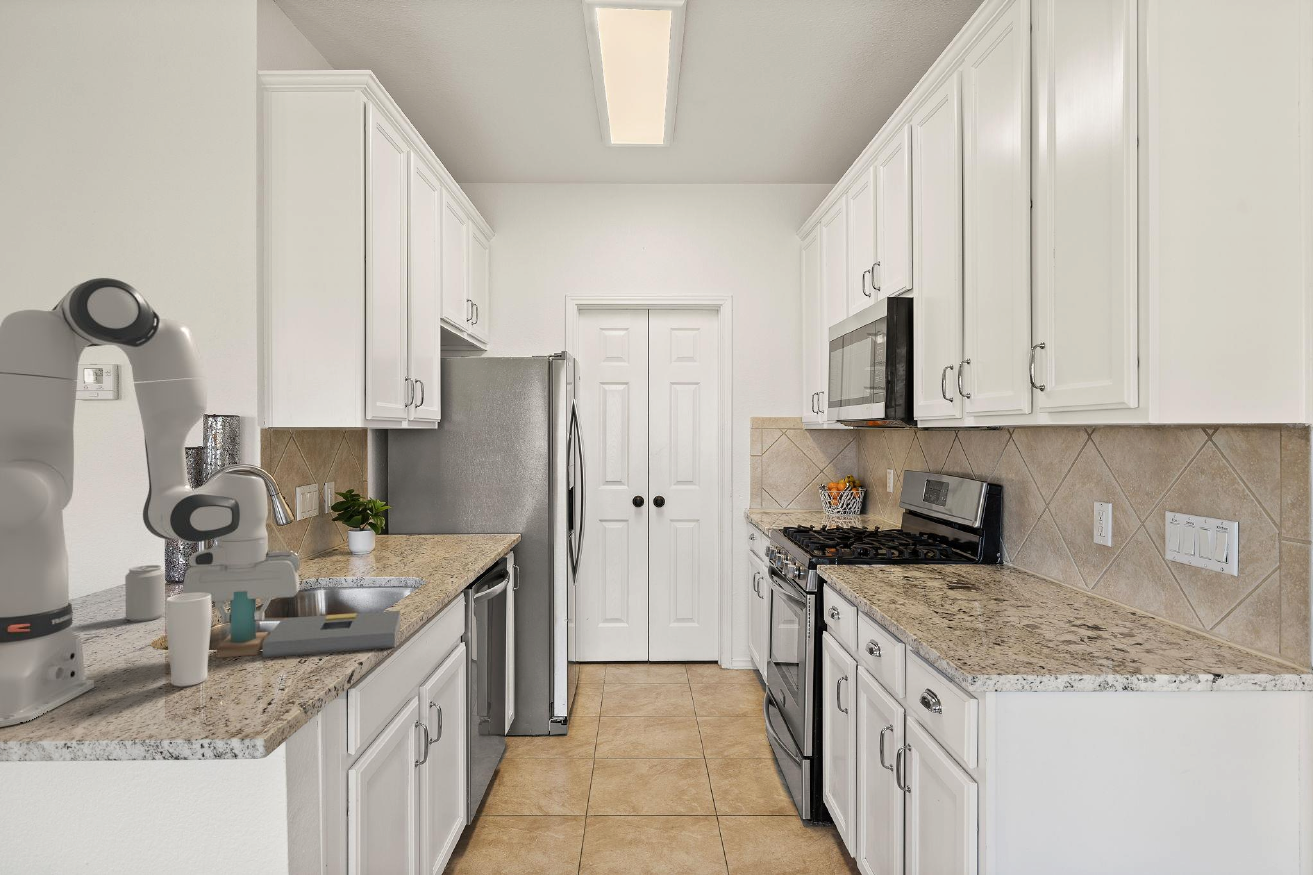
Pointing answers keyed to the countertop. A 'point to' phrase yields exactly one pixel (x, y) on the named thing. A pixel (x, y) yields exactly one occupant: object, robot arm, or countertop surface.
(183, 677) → the drinking glass
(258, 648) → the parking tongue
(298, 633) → the grey flat block
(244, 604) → the barrel peg
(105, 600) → the countertop surface
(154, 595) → the can
